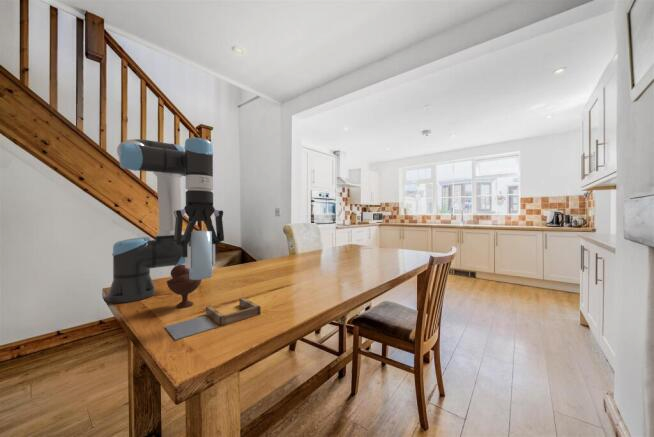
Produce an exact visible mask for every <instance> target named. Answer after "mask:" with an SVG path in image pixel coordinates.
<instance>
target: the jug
mask: <svg viewBox="0 0 654 437" xmlns="http://www.w3.org/2000/svg"><path fill="white" fill-rule="evenodd" d="M189 246H191V268H190V269H189V279H191V280H200V279H202V280H205V279H210V278H213V265H212V231H208V230H193V231H192V232H191V237H190V240H189Z"/></svg>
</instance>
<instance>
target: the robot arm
mask: <svg viewBox="0 0 654 437" xmlns="http://www.w3.org/2000/svg"><path fill="white" fill-rule="evenodd" d="M116 153H117V156H118V162H119V166H120V168H121V169H123V170H129V171H135V172H137V171H138V172H139V171H140V172H151V173H152V174H153V175H155V176H156V177H157V199H158V201H157V202H158V204H157V206H158V207H157V208H158V232H157V233H156V234H155V236H154V239H153V240H151V239H150V237H148V236H143V237H135V238H128V239H124V240H119V241H116V242H115V243H114V244H113V246H112V253H111V254H112V258H113V260H112V262H113V263H112V264H113V265H112V266H113V267H112V274H113V276H112V279H113V280H112V283H111V285H110V287H109V290H108V293H107V302H109V303H115V304H117V303H118V304H119V303H127V302H128V303H129V302H136V301H140V300H144V299H148V298H150V297H152V296H154V295H155V294H156V287H155V283H154V282H153V280H152V277H151V273H150V272H151V271H150V270H151V269H156V268H165V267H175V266H177V265H185V268H187V269H190V268H191V246H189V240H190V237H191V232H192V231H194V228H195V225H196V223H197V222H200V221H201V222H203V223H204V225H205V227H206V231H212V266H215V265H216V255H217V254H218V253H219V244H220V243H221V242H224V241H225V234H224V225H223V224H224V222H223V216H224V210H218V209H216V208H215V206H214V192H213V191H212V190H214V175H213V174H214V150H213V143H212V142H211V141H210V140H208V139H205V138H200V137H189V138H186V139H185V141H184V147H183V146H181V145H179V144H174V143H170V142H168V143H167V142H162V141H156V140H155V141H154V140H149V139H142V138H141V139H140V138H138V139H137V138H134V139H126V140H124V141H122V142H120V143H119V144H118V145H117V148H116ZM182 177H185V189H186V191H185V206H184V208H182V193H181V192H182V191H181V190H182V189H181V178H182ZM185 214H186V216H188V220H187V225H186V228H185V230H184V231H183V222H184V216H185ZM212 215H214V219H215V227H214V225H213V221H212V218H211V217H212ZM215 230H216V231H215Z"/></svg>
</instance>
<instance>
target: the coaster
mask: <svg viewBox="0 0 654 437" xmlns="http://www.w3.org/2000/svg"><path fill="white" fill-rule="evenodd" d="M216 328H219V326H218V325H217V324H216V323H215V322H213V321H212V320H211V319H209V318H208V317H207V315H206V316H205V315H201V316H197V317H195V318H191V319H187V320H184V321H183V320H182V321H179V322H176V323H172V324H167V325H165V326H164V329H166V331H167V332H168V333H169V334H170V336H171V337H172V338H173V339H174V341H179V340H181V339H184V338H188V337H190V336H191V337H192V336H195V335H197V334H198V335H199V334H200V333H203V332H208V331H211V330H213V329H216Z"/></svg>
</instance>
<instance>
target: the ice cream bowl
mask: <svg viewBox="0 0 654 437" xmlns="http://www.w3.org/2000/svg"><path fill="white" fill-rule="evenodd" d="M170 276H171V278H170V279H168V280H166V285H167V287H168V289H169V290H170V291H171V292H172V293H174V294H176V295H179V296H181V302H179V303H177V304H176V306H175V308H177V309H187V308H190V307H193V306H194V302H193V301H191V300H189V299H188V298H189V297H188V296H189V295H190V294H192V293H193V292H194V291H195V290H196V289H198V288H199V287H200V285H201V283H202V280H203V279H200V280H191V279H189V269H187V268H185V264H181V265H176V266H173V267H172V269H171V271H170Z"/></svg>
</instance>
